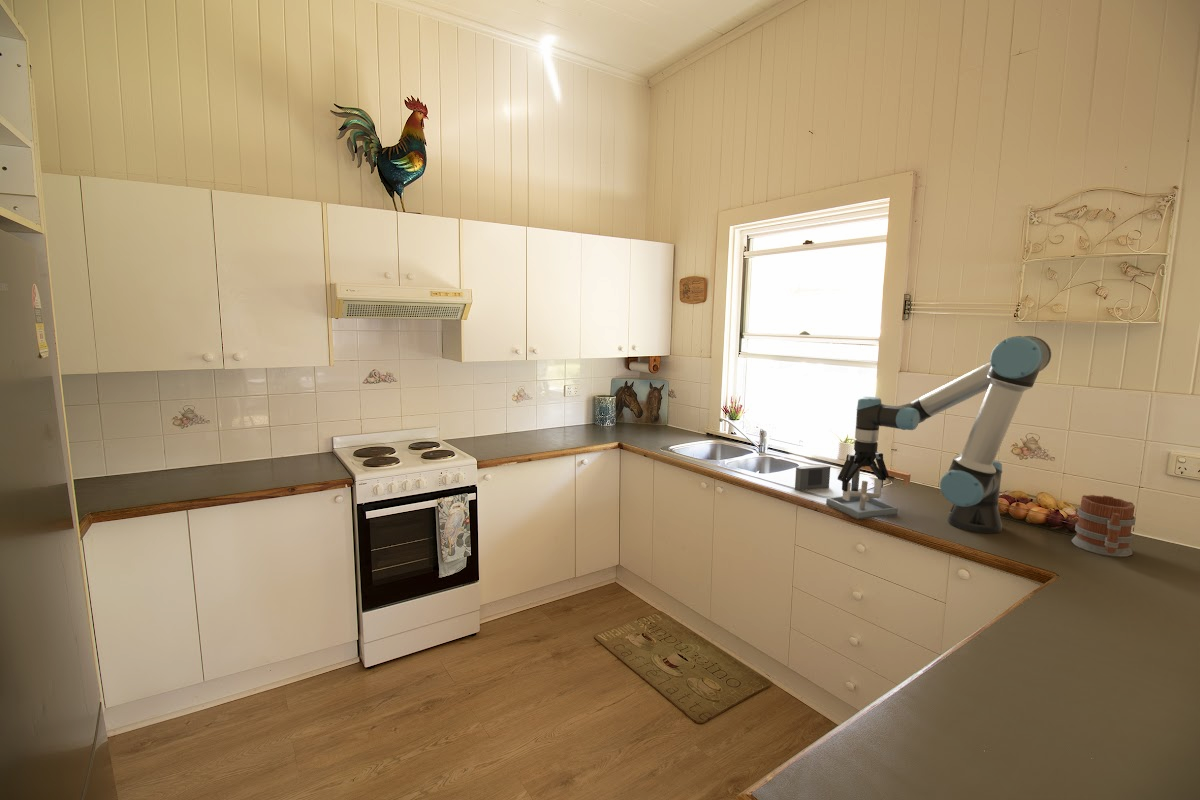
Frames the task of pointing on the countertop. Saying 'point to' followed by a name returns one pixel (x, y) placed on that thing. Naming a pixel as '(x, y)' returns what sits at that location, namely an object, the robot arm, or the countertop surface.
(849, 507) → the tray
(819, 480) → the socket block
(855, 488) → the post
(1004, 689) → the countertop surface
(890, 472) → the tan bar handle
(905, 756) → the countertop surface
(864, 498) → the pipe connector
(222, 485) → the countertop surface
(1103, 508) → the mug
